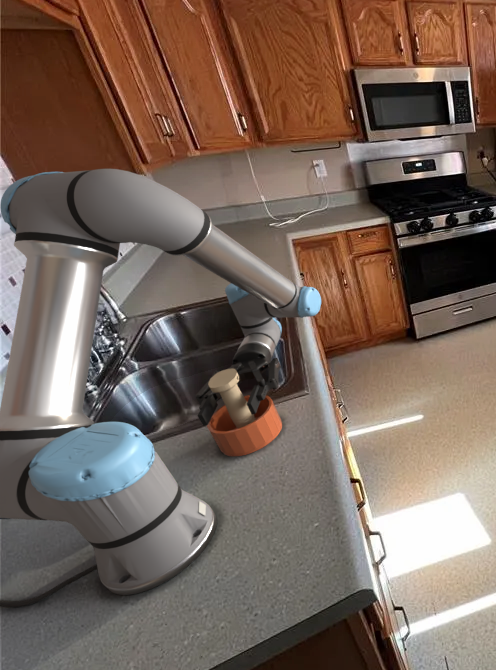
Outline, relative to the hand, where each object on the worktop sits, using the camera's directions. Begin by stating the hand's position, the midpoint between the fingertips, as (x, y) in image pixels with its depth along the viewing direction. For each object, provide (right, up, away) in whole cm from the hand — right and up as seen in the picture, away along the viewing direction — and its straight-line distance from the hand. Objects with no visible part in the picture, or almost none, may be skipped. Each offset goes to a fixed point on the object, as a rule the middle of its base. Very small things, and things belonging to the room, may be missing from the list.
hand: (227, 414), depth 82 cm
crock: (-1, -7, +9) cm, 11 cm away
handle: (-1, -6, +9) cm, 11 cm away
